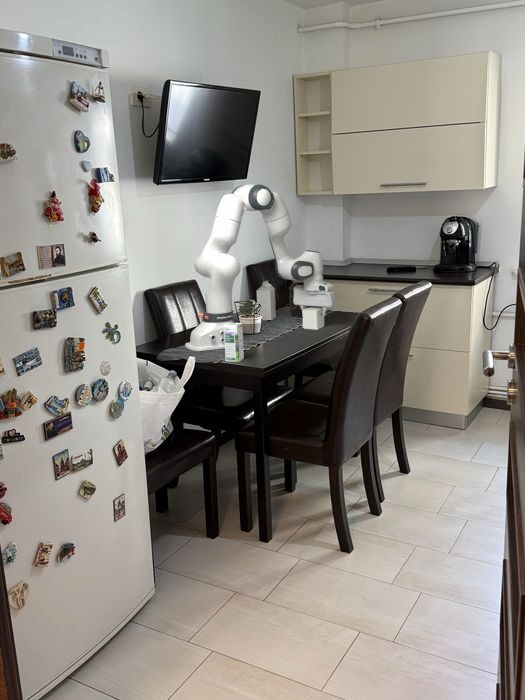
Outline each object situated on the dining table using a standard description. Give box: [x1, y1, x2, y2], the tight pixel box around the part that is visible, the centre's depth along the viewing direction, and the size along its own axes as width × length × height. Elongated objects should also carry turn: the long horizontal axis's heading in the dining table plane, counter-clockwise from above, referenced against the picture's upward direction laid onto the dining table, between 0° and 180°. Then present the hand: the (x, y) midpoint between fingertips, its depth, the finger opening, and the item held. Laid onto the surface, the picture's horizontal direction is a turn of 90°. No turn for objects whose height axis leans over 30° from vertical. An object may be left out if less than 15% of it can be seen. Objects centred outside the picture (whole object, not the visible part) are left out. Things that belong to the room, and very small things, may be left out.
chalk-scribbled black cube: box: [288, 281, 323, 318], centre depth 343 cm, size 18×18×16 cm
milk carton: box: [256, 280, 277, 321], centre depth 335 cm, size 7×7×19 cm
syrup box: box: [224, 322, 245, 363], centre depth 262 cm, size 6×6×14 cm
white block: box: [302, 307, 325, 331], centre depth 314 cm, size 7×7×9 cm
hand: (314, 315), depth 314 cm, fingers open, 8 cm apart
